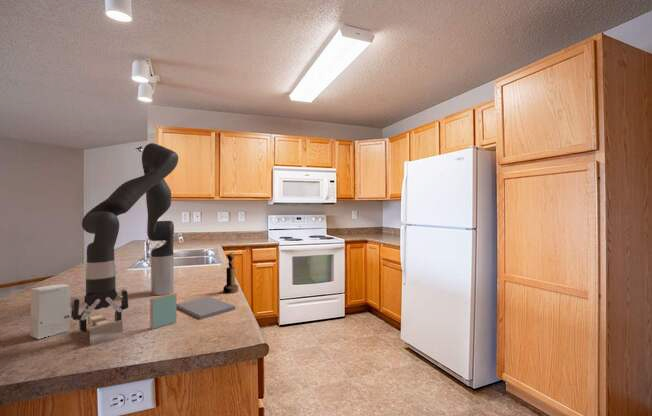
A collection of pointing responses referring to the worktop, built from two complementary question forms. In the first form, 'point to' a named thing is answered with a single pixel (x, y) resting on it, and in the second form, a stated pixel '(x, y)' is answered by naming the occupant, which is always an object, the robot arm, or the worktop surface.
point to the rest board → (205, 307)
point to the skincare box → (50, 310)
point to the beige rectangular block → (103, 329)
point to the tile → (162, 310)
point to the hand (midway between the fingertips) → (101, 327)
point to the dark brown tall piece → (230, 276)
